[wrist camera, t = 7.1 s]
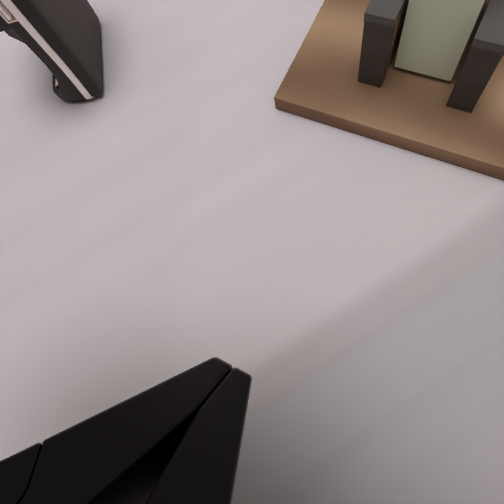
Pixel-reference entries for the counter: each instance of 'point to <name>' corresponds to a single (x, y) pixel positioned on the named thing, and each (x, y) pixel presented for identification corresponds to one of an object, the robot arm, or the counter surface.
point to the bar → (436, 35)
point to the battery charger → (59, 41)
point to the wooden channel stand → (401, 84)
